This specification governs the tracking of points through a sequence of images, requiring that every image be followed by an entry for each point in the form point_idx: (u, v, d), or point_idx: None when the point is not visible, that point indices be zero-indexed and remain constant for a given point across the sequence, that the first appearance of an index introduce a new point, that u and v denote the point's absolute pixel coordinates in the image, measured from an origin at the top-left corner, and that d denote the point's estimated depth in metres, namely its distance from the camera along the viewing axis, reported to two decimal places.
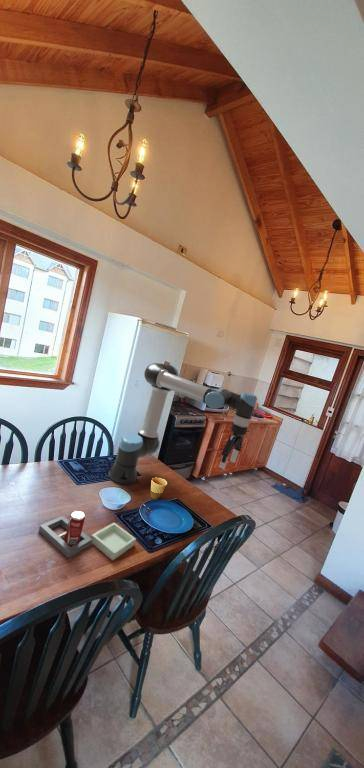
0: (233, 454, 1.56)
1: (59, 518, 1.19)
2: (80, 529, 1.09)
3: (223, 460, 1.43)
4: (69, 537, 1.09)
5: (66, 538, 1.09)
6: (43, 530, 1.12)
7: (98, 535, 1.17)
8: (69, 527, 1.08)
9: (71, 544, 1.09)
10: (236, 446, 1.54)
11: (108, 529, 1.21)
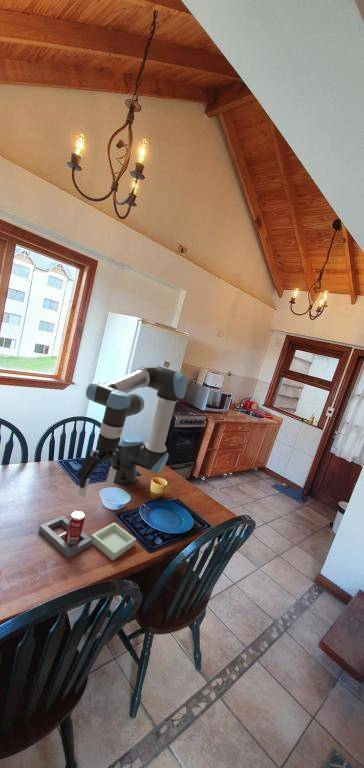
0: (110, 474, 1.16)
1: (59, 518, 1.19)
2: (80, 529, 1.09)
3: (81, 485, 1.03)
4: (69, 537, 1.09)
5: (66, 538, 1.09)
6: (43, 530, 1.12)
7: (98, 535, 1.17)
8: (69, 527, 1.08)
9: (71, 544, 1.09)
10: (112, 463, 1.14)
11: (108, 529, 1.21)
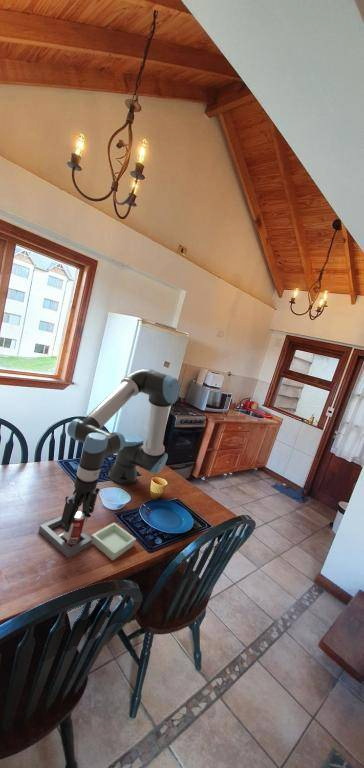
0: None
1: (59, 518, 1.19)
2: (80, 529, 1.09)
3: (65, 529, 1.06)
4: None
5: None
6: (43, 530, 1.12)
7: (98, 535, 1.17)
8: None
9: (71, 544, 1.09)
10: (84, 508, 1.12)
11: (108, 529, 1.21)
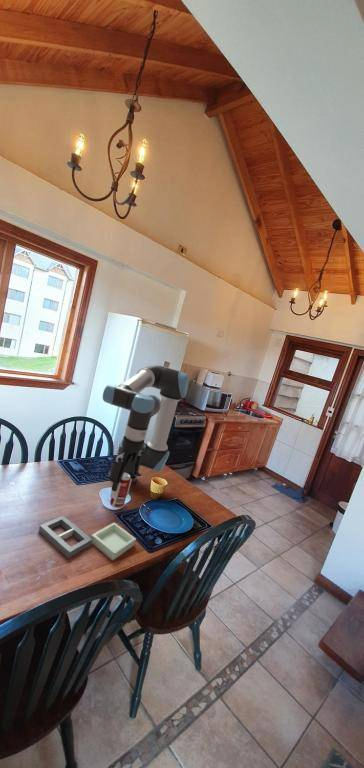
0: None
1: (59, 518, 1.19)
2: (126, 489, 1.12)
3: (113, 488, 1.09)
4: None
5: None
6: (43, 530, 1.12)
7: (98, 535, 1.17)
8: None
9: (118, 504, 1.11)
10: (129, 470, 1.14)
11: (108, 529, 1.21)
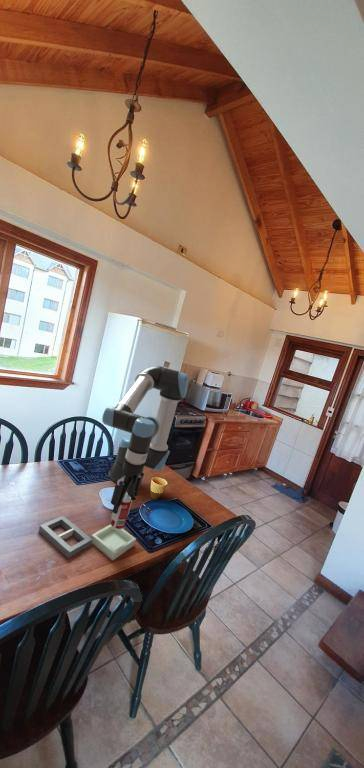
0: None
1: (59, 518, 1.19)
2: (127, 511, 1.14)
3: (114, 510, 1.11)
4: None
5: None
6: (43, 530, 1.12)
7: (98, 535, 1.17)
8: None
9: (119, 526, 1.13)
10: (130, 492, 1.16)
11: (108, 529, 1.21)
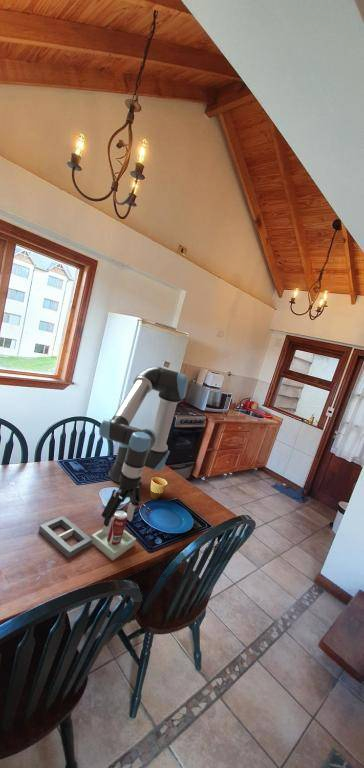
0: (129, 510, 1.21)
1: (59, 518, 1.19)
2: (123, 528, 1.15)
3: (105, 523, 1.09)
4: (113, 535, 1.15)
5: (110, 536, 1.15)
6: (43, 530, 1.12)
7: (98, 535, 1.17)
8: (113, 526, 1.14)
9: (114, 542, 1.15)
10: (132, 500, 1.19)
11: None
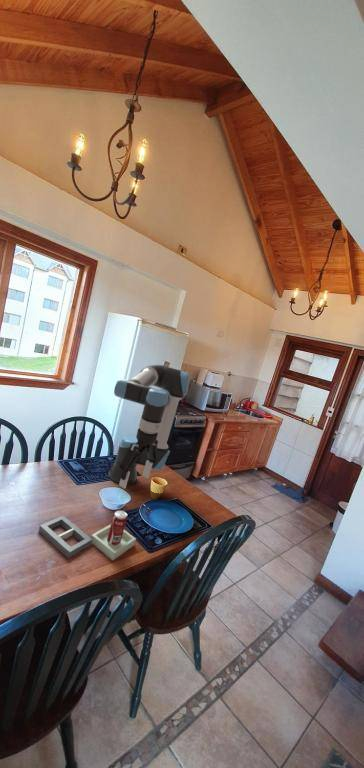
0: (146, 467, 1.22)
1: (59, 518, 1.19)
2: (123, 528, 1.16)
3: (122, 477, 1.09)
4: (113, 535, 1.15)
5: (110, 536, 1.15)
6: (43, 530, 1.12)
7: (98, 535, 1.17)
8: (113, 526, 1.14)
9: (114, 542, 1.15)
10: (149, 457, 1.21)
11: (108, 529, 1.21)
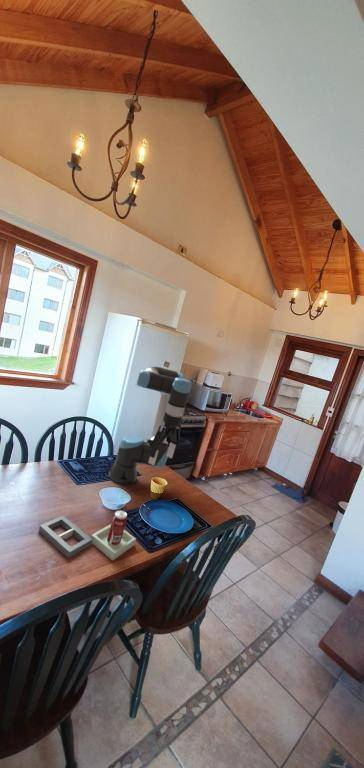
0: (170, 448, 1.38)
1: (59, 518, 1.19)
2: (123, 528, 1.16)
3: (152, 455, 1.25)
4: (113, 535, 1.15)
5: (110, 536, 1.15)
6: (43, 530, 1.12)
7: (98, 535, 1.17)
8: (113, 525, 1.15)
9: (114, 542, 1.15)
10: (172, 439, 1.36)
11: (108, 529, 1.21)
